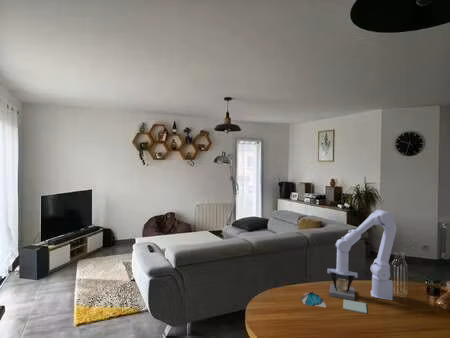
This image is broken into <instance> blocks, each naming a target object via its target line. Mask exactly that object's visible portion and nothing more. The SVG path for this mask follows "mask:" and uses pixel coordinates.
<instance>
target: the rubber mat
mask: <svg viewBox="0 0 450 338" xmlns="http://www.w3.org/2000/svg"><path fill="white" fill-rule="evenodd" d="M342 301H343V303H342V309H343V310H345V311H352V312H355V313H361V314H366V315H367V314H368V310H367V303H365V302H361V301H355V300H354V301H353V300H348V299H343V300H342Z"/></svg>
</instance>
